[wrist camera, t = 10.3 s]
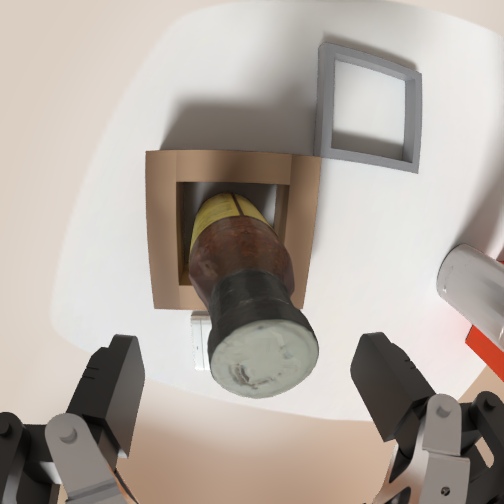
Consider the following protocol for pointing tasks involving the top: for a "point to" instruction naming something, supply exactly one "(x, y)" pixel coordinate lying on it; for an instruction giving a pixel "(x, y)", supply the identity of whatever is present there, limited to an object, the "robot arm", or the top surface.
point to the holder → (224, 170)
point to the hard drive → (200, 340)
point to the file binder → (487, 349)
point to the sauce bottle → (249, 300)
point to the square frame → (326, 104)
